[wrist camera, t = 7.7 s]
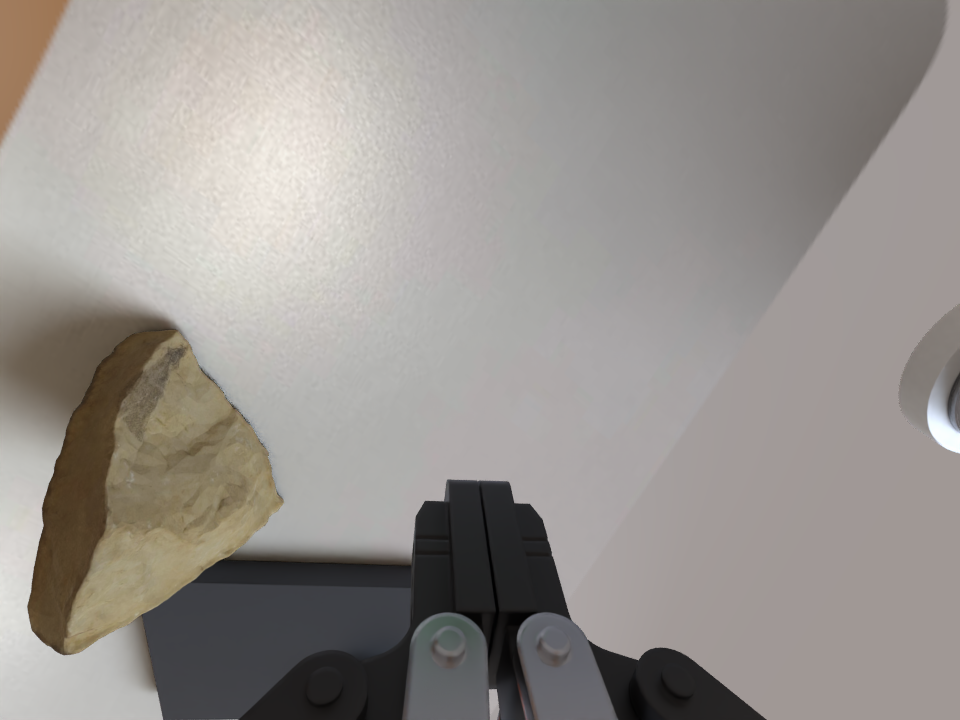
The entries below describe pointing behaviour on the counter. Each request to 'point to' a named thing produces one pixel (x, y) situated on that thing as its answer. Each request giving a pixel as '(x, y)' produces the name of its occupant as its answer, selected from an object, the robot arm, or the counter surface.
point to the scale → (267, 629)
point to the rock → (143, 492)
